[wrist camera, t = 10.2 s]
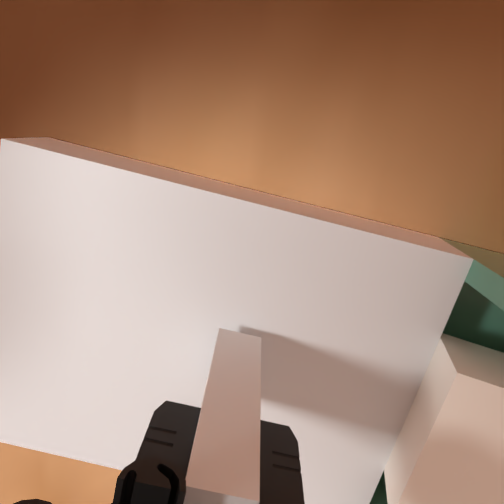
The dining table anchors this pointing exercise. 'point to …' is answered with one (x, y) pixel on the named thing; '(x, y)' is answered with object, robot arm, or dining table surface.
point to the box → (473, 312)
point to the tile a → (452, 431)
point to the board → (206, 310)
